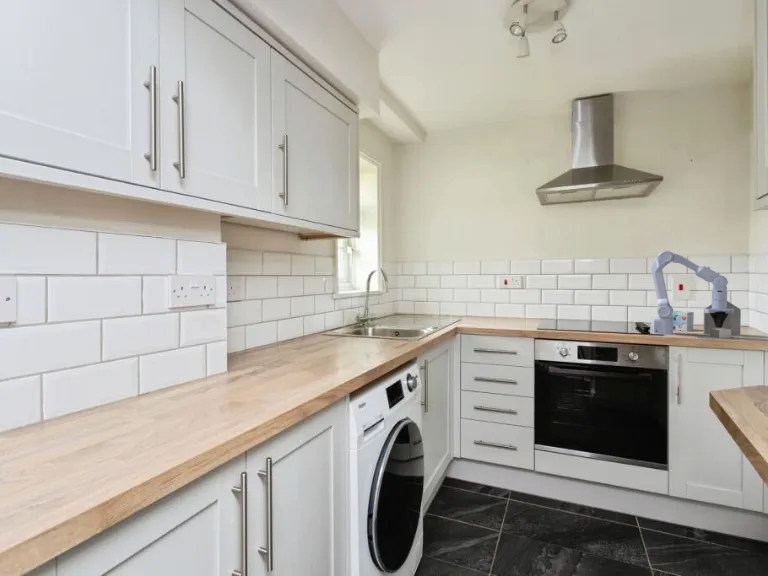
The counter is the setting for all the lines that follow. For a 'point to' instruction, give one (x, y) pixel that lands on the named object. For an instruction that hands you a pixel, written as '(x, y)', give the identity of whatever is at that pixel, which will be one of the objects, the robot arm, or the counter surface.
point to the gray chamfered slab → (730, 322)
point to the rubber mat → (713, 337)
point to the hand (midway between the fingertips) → (718, 327)
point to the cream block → (721, 333)
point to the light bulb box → (683, 320)
